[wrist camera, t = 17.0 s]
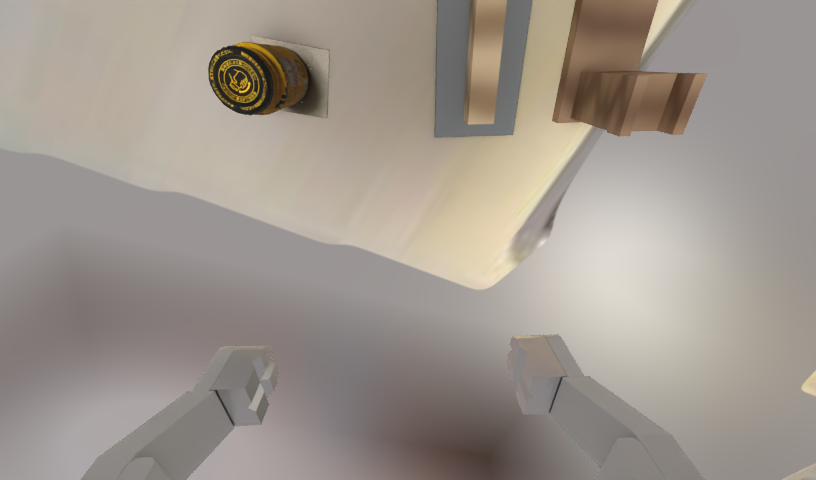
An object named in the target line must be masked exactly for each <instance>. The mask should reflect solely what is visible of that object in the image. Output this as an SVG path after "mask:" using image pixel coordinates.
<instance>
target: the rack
mask: <svg viewBox="0 0 816 480" xmlns="http://www.w3.org/2000/svg"><path fill="white" fill-rule="evenodd" d="M657 3H658V0H576V4H575V9H574V14H573V19H572V24H571V29H570V34H569V39H568V44H567V49H566V54H565V59H564V64H563V69H562V74H561V79H560V84H559V89H558V94H557V99H556V105H555V110H554V115H553V120H552V121H554V122H557V123H567V122H584V123H587V124H590V125H593V126H596V127H599V128H602V129H605V130H607V132H608V133H612V134H614V135H617V136H630V134H631V131H660V132H664V133H668V134H672V135H676V134H677V135H678V134H683V132H684V130H685V127H686V125H687V123H688V120H689V118H690V115H691V113H692V110H693V108H694V105H695V103H696V100H697V98H698V95H699V93H700V90H701V88H702V85H703V83H704V81H705V78H706V76H707V74H697V73H665V72H643V71H637V69H638V66H639V62H640V59H641V56H642V52H643V49H644V46H645V42H646V39H647V36H648V33H649V29H650V26H651V23H652V19H653V16H654V13H655V10H656V6H657Z"/></svg>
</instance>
